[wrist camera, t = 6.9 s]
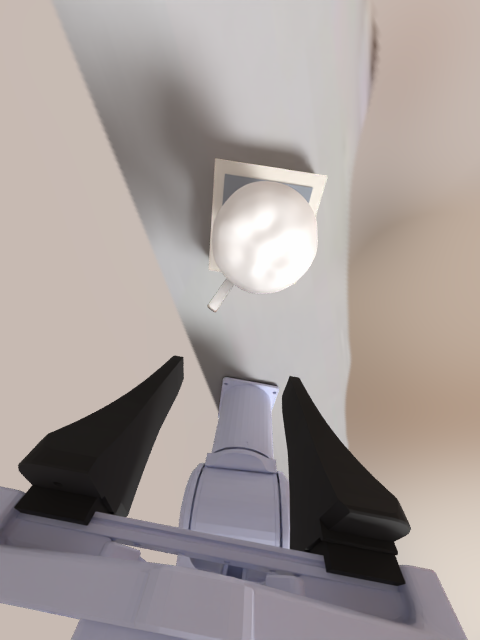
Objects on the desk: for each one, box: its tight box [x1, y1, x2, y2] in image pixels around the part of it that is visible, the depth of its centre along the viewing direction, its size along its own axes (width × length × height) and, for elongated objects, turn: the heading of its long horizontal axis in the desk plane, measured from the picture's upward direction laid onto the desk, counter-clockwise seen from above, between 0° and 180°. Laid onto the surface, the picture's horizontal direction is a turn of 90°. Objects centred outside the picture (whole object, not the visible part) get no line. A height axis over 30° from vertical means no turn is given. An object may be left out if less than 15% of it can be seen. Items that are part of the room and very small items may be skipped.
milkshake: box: [207, 181, 318, 312], centre depth 11 cm, size 4×5×10 cm
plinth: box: [209, 158, 328, 284], centre depth 17 cm, size 8×8×3 cm
